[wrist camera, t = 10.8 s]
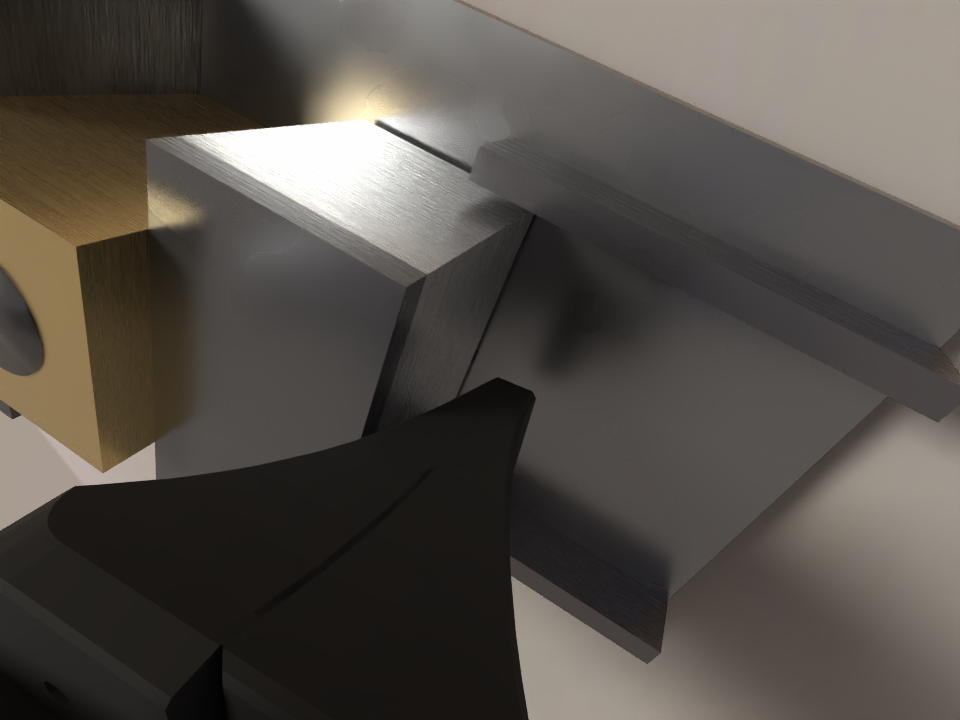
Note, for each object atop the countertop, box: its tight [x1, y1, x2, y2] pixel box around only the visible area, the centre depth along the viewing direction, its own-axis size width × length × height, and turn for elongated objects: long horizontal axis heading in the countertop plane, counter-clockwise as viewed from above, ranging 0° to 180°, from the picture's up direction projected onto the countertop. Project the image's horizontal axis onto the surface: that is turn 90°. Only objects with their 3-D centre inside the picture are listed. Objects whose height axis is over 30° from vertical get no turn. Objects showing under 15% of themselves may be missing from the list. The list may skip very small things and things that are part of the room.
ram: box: [146, 119, 534, 480], centre depth 10 cm, size 4×7×5 cm, turn 159°
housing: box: [0, 94, 264, 473], centre depth 11 cm, size 4×4×6 cm
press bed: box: [0, 0, 960, 664], centre depth 11 cm, size 20×12×6 cm, turn 69°
